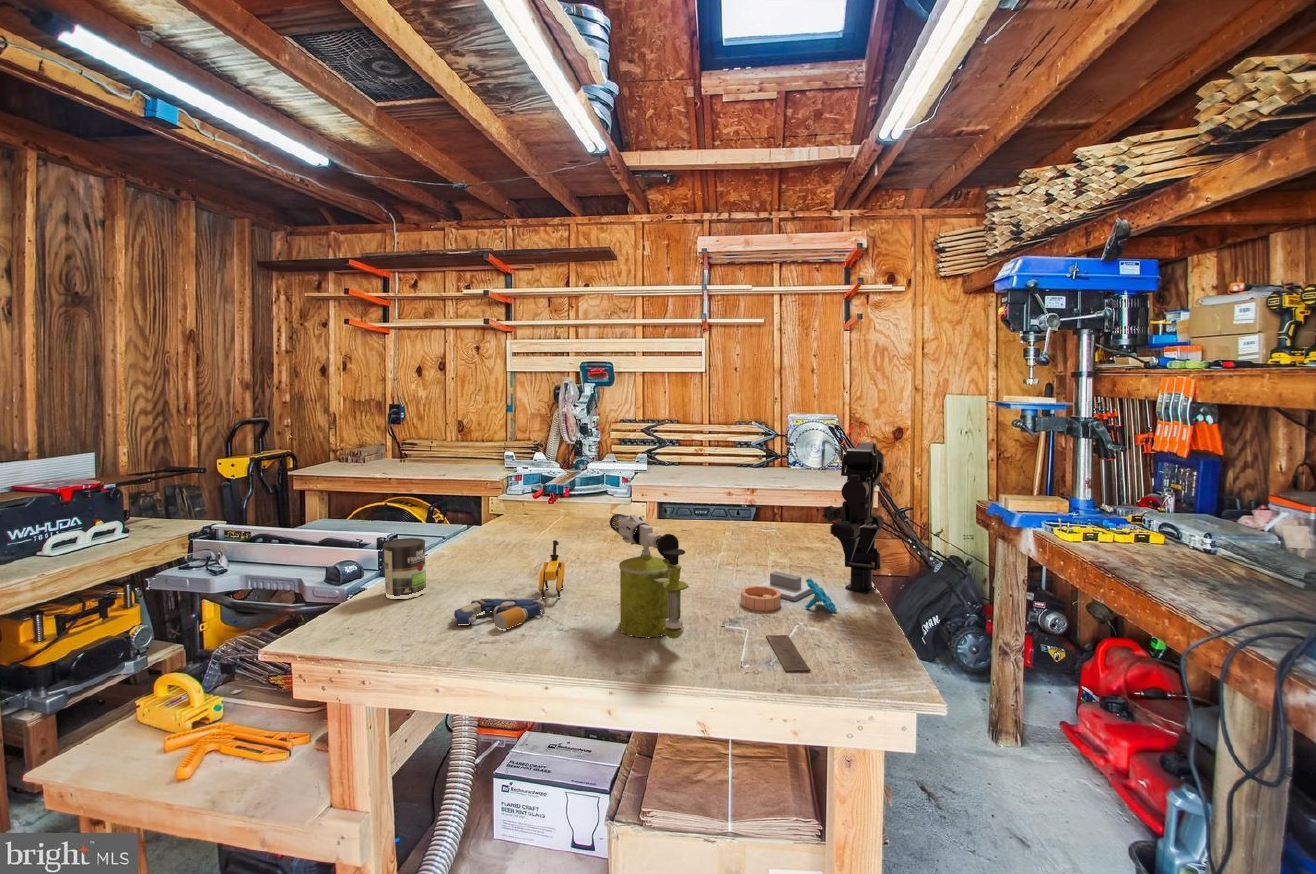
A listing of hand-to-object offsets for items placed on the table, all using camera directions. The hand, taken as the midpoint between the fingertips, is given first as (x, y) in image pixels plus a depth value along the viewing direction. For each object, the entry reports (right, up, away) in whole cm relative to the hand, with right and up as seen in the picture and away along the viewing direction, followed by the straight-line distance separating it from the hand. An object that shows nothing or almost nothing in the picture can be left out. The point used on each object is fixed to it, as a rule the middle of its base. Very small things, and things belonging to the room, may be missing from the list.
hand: (856, 557), depth 149 cm
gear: (-10, -13, -3) cm, 16 cm away
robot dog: (-79, -12, +9) cm, 81 cm away
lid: (-16, -11, +11) cm, 22 cm away
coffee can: (-119, -12, +7) cm, 120 cm away
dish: (-25, -12, 0) cm, 27 cm away
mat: (-16, -11, +11) cm, 23 cm away
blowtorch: (-54, -13, -15) cm, 57 cm away
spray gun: (-89, -13, -10) cm, 91 cm away
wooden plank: (-24, -15, -28) cm, 40 cm away
